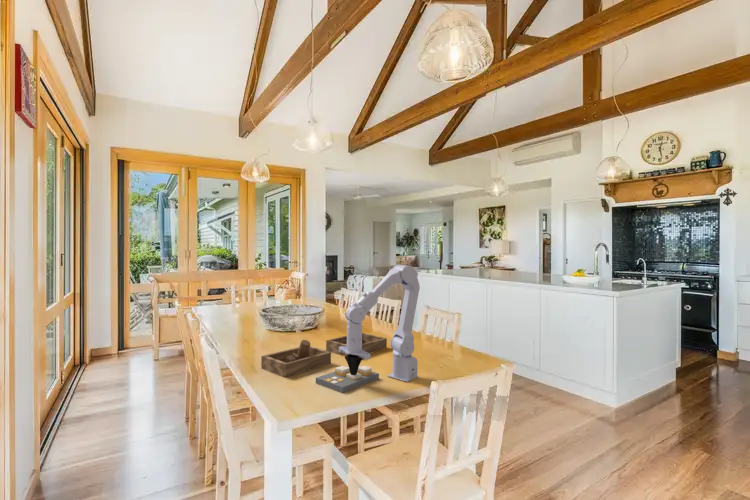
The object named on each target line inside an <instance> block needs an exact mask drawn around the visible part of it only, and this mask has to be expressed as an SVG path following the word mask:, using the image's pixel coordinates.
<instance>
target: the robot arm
mask: <svg viewBox="0 0 750 500" xmlns="http://www.w3.org/2000/svg"><path fill="white" fill-rule="evenodd" d="M418 272H419V271H417V270H416V269H415V267H414V266H411V265H406V264H405V265H403V264H401V263H399V264H395V265H394V266H393V267H392V268H391V269H389V271H388V272H387V273H386V275H385V276H384V277H383V278H382V279H381V281H379V283H378V284H377V285H376V286H375V287H374V288H373V289H372V290H371V291H368V290H367V291H366V292H363V293H362V294H361V297H360V298H359V299H358V300H357V301H355V302H353V305H352V306H348V307H347V309H346V312H345V313H344V317H345V318H346V321H347V322H346V336H347V347H344V346H341V347H339V352H343V353H345V354H347V356H344V359H345V361H346V363H347V365H348V366H349V370H350V374H351V375H356V374H357V371H358V367H360V364H361V363H362V361H363V359H364V360H367V361H368V360H370V359H371V353H367V352H365V351H364V350H362V344H363V343H362V333H363V322H364V321H365V319H366V315H367V313H369V312H370V311H371V310H372V309H373V308H374V307H375V305H377V303H378V302H379V297H380V296H382V294H384V293H385V292H386V291H387V290H388V289H389V288H390V287H391V286H393V285H395V284H396V285H397V284H401V285H402V287H403V288H404V289H405V290H404V296H403V301H402V306H401V312H400V317H399V322H398V326H397V329H396V330H394V333H393V336H392V337H391V340H390V347H391V349H392V373H389V374H387V377H389V378H393V379H395V380H398V379H399V380H400V381H401V382H405V381H406V383H408V382H410V381H412V380H415V379H417V378H419V375H418V366H419V365H418V364H419V363H418V359H417V357H415V356H413V353H414V352H415V343H414V342H415V341H414V340H415V336H414V334H413V332H412V331H413V324H414V320H415V315H416V309H417V304H418V299H419V292H420V287H421V286H420V283H419V279H418V276H419V273H418ZM348 366H347V367H348ZM414 378H415V379H414Z"/></svg>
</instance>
